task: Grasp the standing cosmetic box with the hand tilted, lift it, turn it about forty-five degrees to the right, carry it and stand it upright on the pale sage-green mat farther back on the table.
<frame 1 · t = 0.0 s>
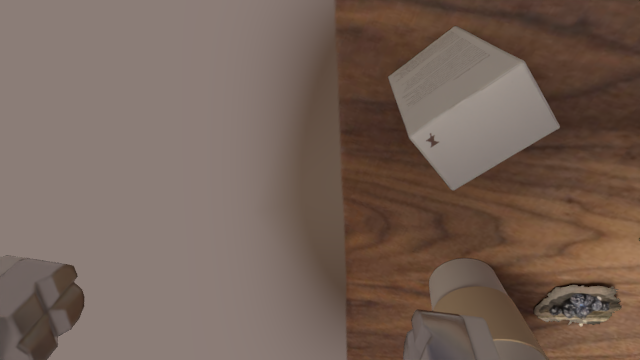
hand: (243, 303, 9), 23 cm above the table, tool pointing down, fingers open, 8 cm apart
cosmetic box: (435, 72, 28), on the table
coffee cup: (461, 281, 39), on the table
blueberries: (572, 302, 39), on the table
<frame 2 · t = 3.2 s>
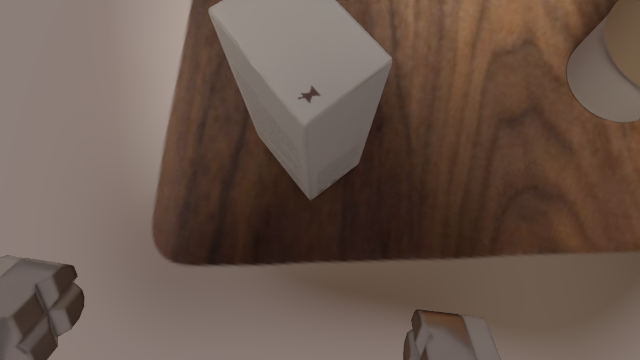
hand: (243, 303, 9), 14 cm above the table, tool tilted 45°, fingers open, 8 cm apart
cosmetic box: (307, 149, 25), on the table
coffee cup: (612, 79, 26), on the table
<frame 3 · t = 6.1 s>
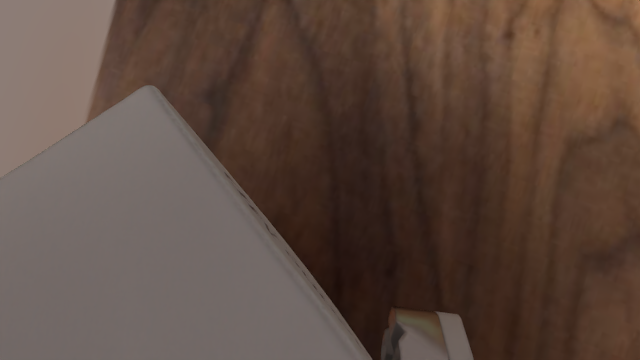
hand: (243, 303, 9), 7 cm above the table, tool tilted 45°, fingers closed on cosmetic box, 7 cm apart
cosmetic box: (273, 308, 15), on the table, touching gripper
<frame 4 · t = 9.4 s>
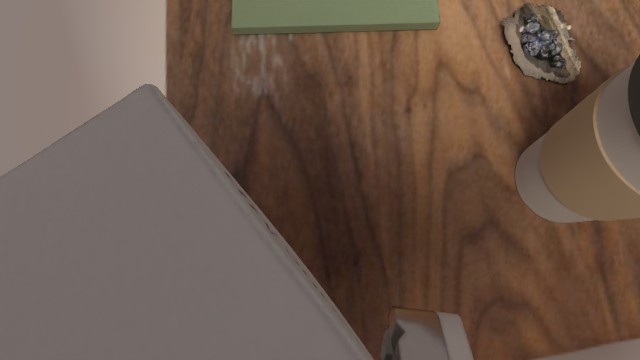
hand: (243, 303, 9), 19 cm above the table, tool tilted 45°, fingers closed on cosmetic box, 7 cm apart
cosmetic box: (273, 307, 15), point 12 cm above the table, touching gripper
coffee cup: (556, 180, 29), on the table
blueberries: (541, 47, 32), on the table
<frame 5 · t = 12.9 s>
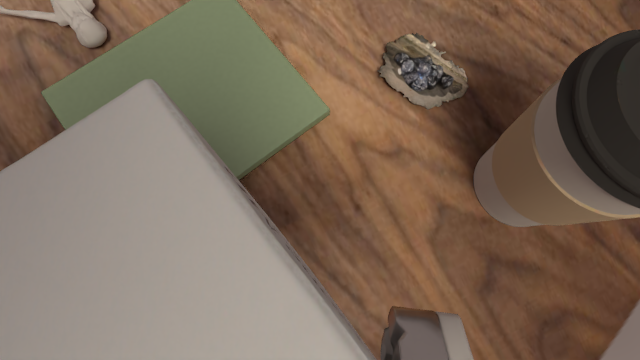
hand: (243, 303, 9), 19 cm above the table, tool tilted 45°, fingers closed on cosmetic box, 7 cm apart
cosmetic box: (274, 306, 15), point 13 cm above the table, touching gripper
coffee cup: (513, 184, 30), on the table
mat: (188, 106, 31), on the table
blueberries: (423, 74, 32), on the table
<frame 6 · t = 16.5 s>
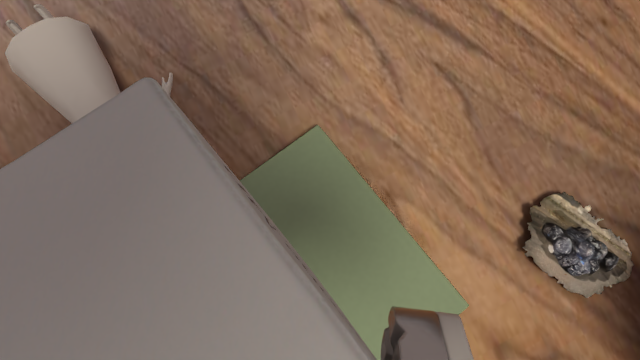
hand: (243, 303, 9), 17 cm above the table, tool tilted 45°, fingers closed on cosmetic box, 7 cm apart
cosmetic box: (273, 305, 15), point 10 cm above the table, touching gripper
woman figurine: (113, 123, 28), on the table
mat: (285, 292, 25), on the table
blueberries: (574, 245, 26), on the table
when the fingers open (8 cm above the table, at t = 19.6 s): cosmetic box stays where it is, resting on mat.
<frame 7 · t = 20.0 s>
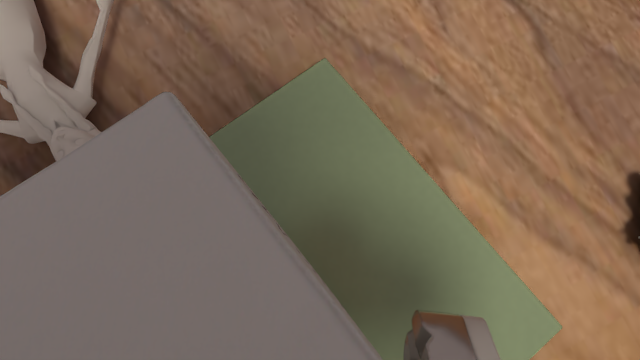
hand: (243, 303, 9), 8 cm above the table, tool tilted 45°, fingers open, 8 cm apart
cosmetic box: (276, 306, 15), point 1 cm above the table, touching mat
woman figurine: (30, 59, 19), on the table
mat: (276, 305, 16), on the table
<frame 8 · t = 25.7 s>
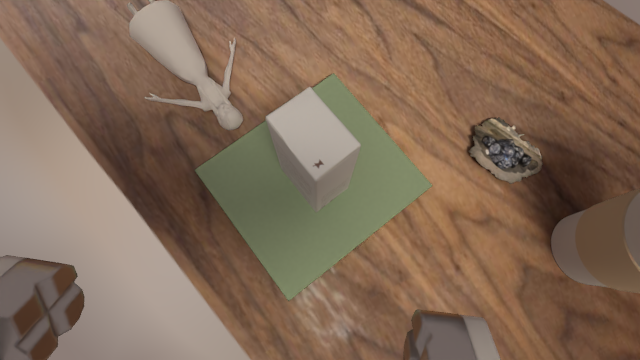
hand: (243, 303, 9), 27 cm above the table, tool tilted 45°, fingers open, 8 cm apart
cosmetic box: (314, 177, 37), point 1 cm above the table, touching mat
coffee cup: (583, 248, 36), on the table
woman figurine: (194, 73, 41), on the table
mat: (313, 180, 38), on the table
blueberries: (504, 152, 39), on the table
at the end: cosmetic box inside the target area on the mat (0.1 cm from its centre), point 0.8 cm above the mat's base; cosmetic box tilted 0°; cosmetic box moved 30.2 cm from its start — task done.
